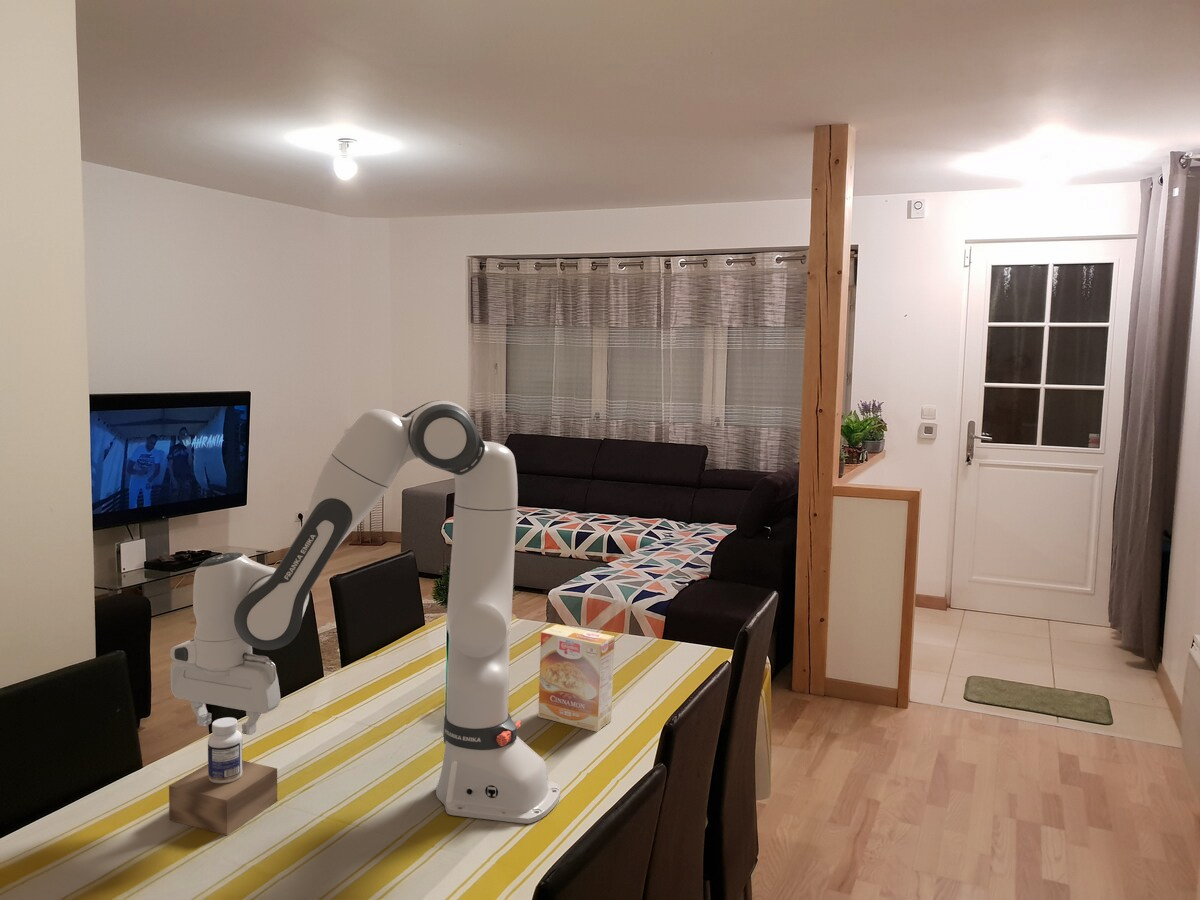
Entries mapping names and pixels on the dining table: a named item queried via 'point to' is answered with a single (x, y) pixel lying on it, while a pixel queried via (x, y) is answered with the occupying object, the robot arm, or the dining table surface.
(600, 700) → the coffeecake box
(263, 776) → the walnut riser
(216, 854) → the dining table surface
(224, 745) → the pill bottle
